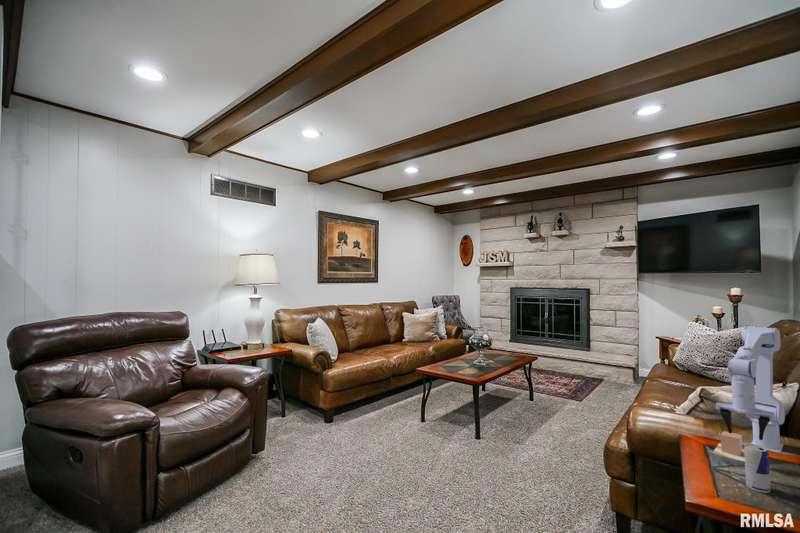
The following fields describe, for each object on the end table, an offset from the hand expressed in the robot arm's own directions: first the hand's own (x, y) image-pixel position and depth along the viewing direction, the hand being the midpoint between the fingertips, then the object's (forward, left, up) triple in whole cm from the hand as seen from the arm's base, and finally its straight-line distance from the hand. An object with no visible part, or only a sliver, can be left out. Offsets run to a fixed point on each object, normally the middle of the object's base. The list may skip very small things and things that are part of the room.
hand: (745, 435), depth 127 cm
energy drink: (+16, +4, -10) cm, 20 cm away
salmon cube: (-8, -5, -9) cm, 13 cm away
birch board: (-8, -5, -10) cm, 14 cm away
